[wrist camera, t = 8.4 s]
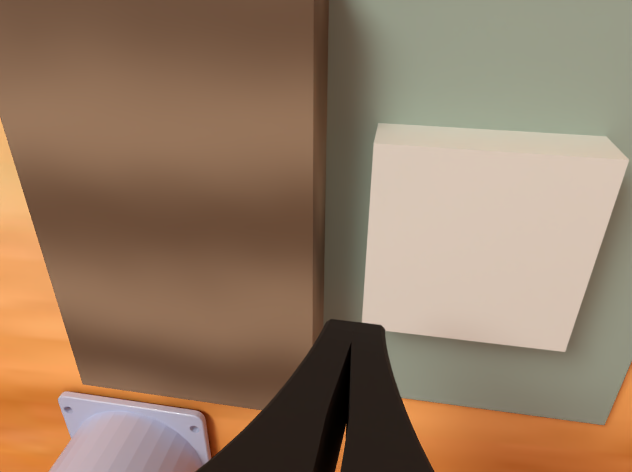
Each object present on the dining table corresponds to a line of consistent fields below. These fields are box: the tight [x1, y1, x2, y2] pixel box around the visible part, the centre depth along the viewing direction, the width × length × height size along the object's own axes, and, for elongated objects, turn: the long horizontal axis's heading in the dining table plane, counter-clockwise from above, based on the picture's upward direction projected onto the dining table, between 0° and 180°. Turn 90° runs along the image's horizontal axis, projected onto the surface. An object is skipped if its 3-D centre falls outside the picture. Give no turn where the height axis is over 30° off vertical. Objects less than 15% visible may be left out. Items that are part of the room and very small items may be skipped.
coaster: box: [362, 123, 629, 352], centre depth 17 cm, size 7×7×2 cm
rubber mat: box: [323, 0, 632, 425], centre depth 18 cm, size 18×12×1 cm, turn 0°
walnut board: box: [0, 0, 329, 410], centre depth 18 cm, size 16×10×3 cm, turn 0°
